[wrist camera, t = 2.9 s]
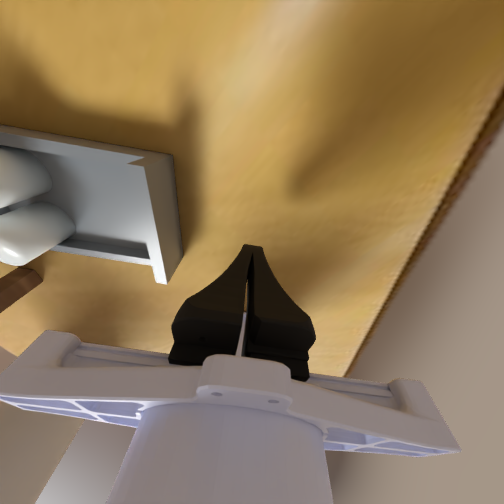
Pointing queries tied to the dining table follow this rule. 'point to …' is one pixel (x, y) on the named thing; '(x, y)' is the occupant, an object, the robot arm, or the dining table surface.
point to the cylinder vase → (31, 450)
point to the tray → (87, 201)
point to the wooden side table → (17, 286)
